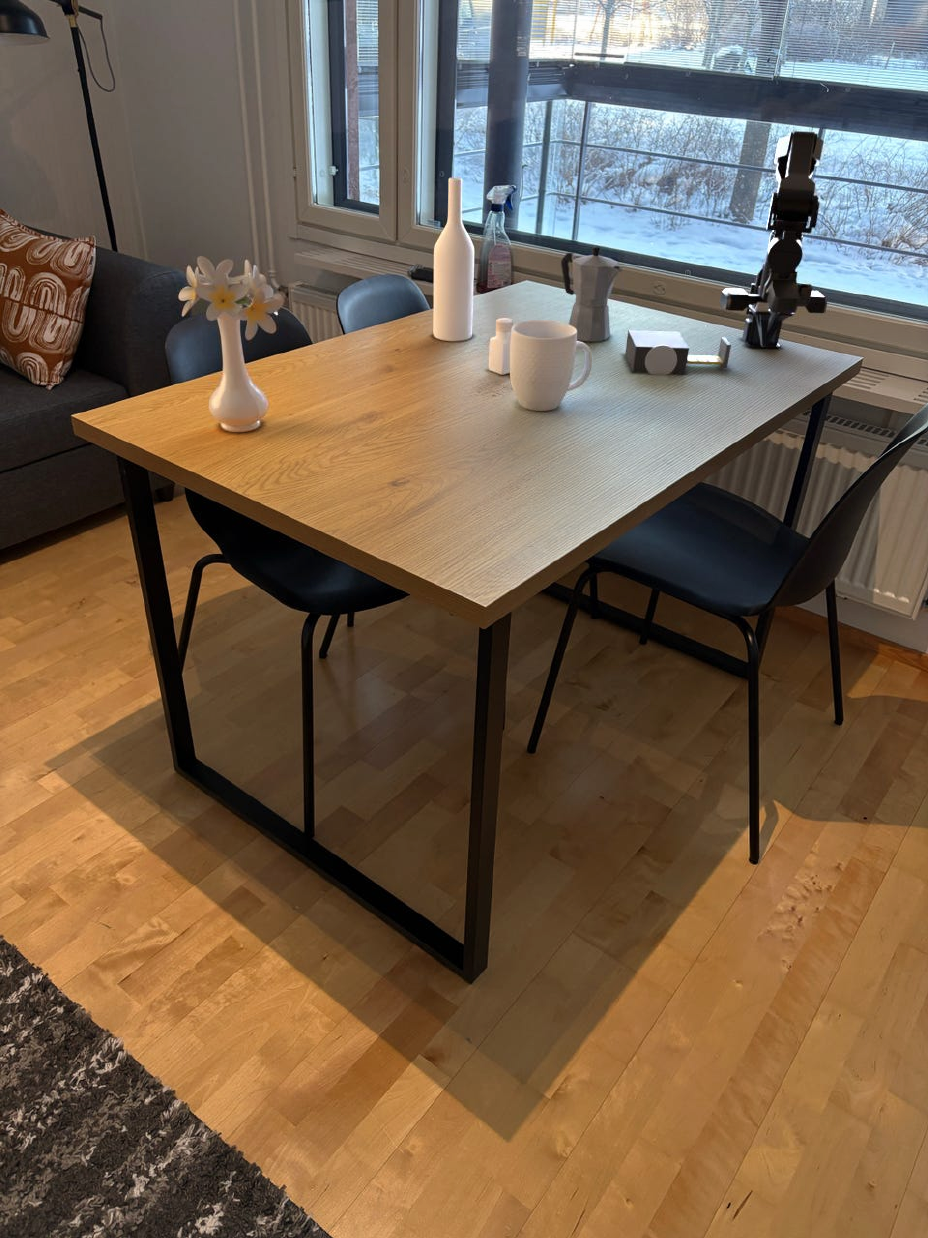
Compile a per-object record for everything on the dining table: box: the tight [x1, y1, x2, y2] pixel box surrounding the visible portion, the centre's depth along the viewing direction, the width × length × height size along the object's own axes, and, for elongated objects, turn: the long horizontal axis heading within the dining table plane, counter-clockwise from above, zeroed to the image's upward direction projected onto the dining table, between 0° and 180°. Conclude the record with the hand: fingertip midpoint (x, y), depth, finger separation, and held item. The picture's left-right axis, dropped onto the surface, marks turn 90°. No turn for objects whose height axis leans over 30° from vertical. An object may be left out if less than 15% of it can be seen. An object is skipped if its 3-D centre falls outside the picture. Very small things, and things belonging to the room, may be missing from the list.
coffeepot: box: [560, 245, 623, 343], centre depth 188 cm, size 15×9×18 cm, turn 44°
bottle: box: [432, 177, 475, 342], centre depth 182 cm, size 8×8×30 cm
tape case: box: [624, 329, 690, 376], centre depth 176 cm, size 10×11×6 cm
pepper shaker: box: [488, 317, 514, 376], centre depth 169 cm, size 4×4×10 cm
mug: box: [509, 319, 593, 412], centre depth 154 cm, size 15×11×13 cm
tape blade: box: [687, 336, 732, 370], centre depth 176 cm, size 10×5×5 cm, turn 89°
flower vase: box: [178, 255, 284, 433], centre depth 139 cm, size 13×18×25 cm
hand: (763, 346), depth 175 cm, fingers closed
